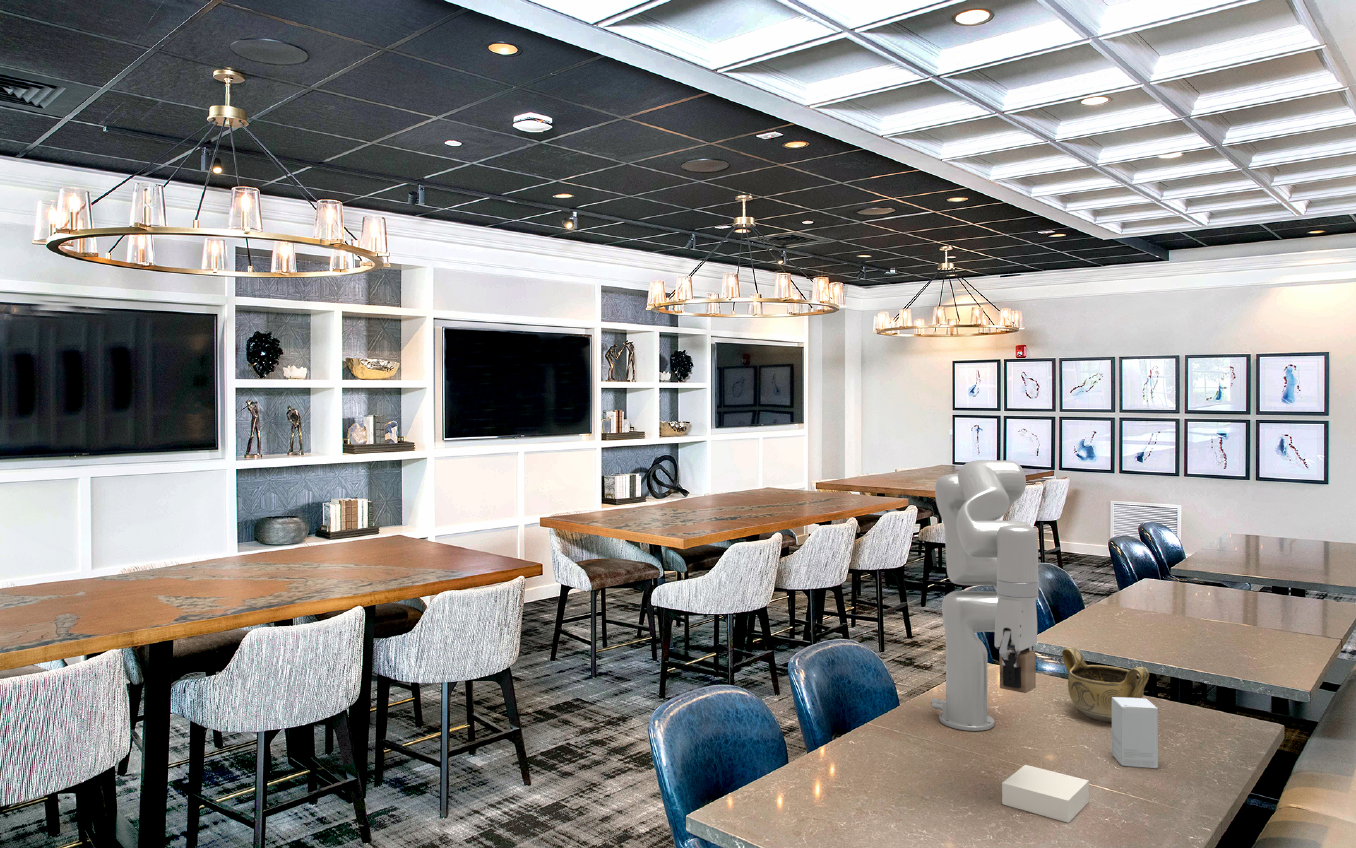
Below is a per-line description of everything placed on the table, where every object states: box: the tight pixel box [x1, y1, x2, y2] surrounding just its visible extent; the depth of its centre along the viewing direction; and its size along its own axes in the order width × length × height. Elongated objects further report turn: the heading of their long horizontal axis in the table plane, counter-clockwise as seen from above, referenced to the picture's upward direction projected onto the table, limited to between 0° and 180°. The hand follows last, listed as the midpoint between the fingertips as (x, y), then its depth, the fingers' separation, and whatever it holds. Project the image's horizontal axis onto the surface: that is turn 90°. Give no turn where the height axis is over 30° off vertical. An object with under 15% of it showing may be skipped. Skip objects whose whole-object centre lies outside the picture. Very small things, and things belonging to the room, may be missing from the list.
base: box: [1001, 764, 1090, 824], centre depth 167 cm, size 12×12×4 cm
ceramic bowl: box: [1061, 646, 1150, 723], centre depth 216 cm, size 22×17×15 cm
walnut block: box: [999, 646, 1037, 694], centre depth 171 cm, size 5×5×7 cm
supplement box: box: [1111, 697, 1159, 769], centre depth 188 cm, size 7×7×13 cm
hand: (1017, 683), depth 171 cm, fingers closed on walnut block, 5 cm apart
